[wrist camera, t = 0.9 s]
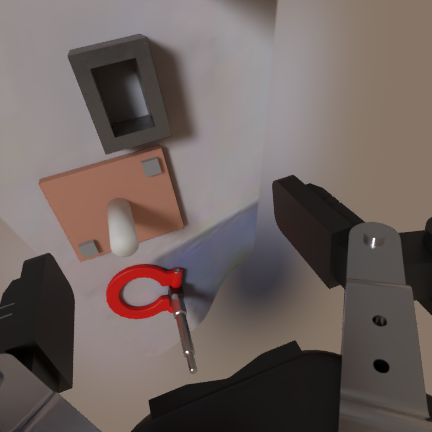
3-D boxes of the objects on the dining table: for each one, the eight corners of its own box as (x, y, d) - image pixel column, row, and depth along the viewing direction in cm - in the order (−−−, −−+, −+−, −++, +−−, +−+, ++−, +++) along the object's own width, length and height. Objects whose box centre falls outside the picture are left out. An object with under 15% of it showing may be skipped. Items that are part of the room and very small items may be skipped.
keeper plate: (39, 179, 33) (27, 222, 27) (159, 144, 35) (176, 176, 28) (80, 256, 39) (79, 307, 32) (182, 223, 41) (200, 264, 34)
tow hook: (106, 315, 45) (176, 309, 48) (105, 410, 34) (196, 396, 37) (106, 263, 41) (182, 260, 44) (105, 353, 30) (206, 341, 33)
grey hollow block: (69, 50, 29) (67, 55, 25) (139, 33, 30) (146, 37, 26) (104, 140, 33) (105, 154, 30) (163, 123, 34) (172, 135, 31)
